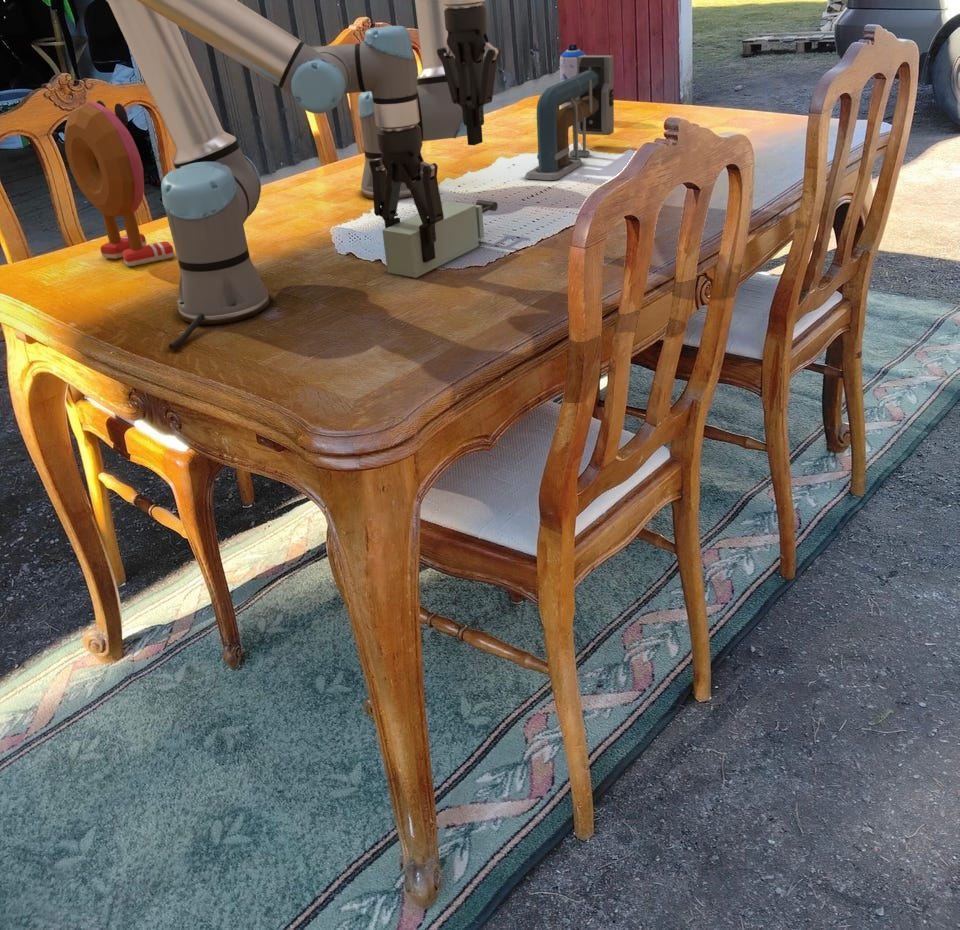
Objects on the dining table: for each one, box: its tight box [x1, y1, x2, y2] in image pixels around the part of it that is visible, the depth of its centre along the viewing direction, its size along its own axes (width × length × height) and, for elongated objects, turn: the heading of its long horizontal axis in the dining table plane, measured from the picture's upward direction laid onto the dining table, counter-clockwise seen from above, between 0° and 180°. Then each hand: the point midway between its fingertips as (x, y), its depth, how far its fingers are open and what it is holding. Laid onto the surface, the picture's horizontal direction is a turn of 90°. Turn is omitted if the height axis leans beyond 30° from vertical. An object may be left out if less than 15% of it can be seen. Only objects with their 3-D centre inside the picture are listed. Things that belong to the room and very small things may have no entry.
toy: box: [64, 100, 175, 267], centre depth 188 cm, size 21×10×30 cm, turn 47°
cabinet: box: [382, 201, 480, 279], centre depth 179 cm, size 19×7×8 cm, turn 144°
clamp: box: [524, 54, 615, 181], centre depth 231 cm, size 35×9×21 cm, turn 151°
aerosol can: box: [559, 43, 586, 109], centre depth 273 cm, size 8×8×20 cm
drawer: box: [461, 199, 499, 240], centre depth 183 cm, size 24×6×6 cm, turn 144°
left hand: (413, 257), depth 176 cm, fingers closed on cabinet, 7 cm apart
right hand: (475, 143), depth 182 cm, fingers closed
